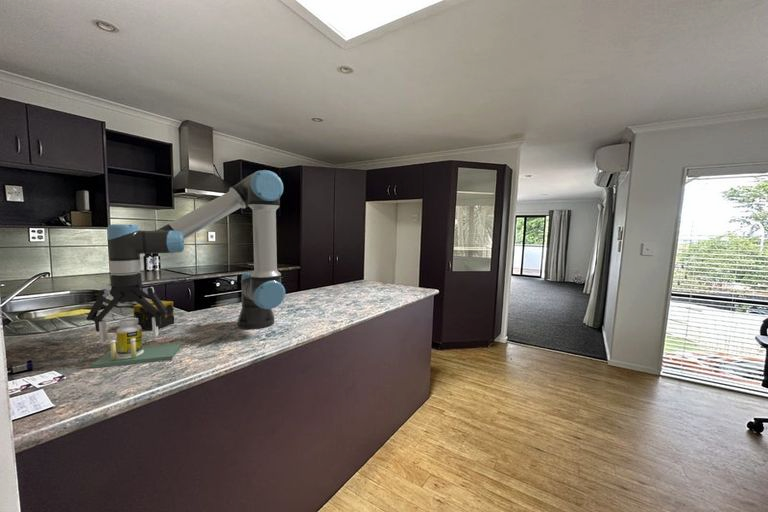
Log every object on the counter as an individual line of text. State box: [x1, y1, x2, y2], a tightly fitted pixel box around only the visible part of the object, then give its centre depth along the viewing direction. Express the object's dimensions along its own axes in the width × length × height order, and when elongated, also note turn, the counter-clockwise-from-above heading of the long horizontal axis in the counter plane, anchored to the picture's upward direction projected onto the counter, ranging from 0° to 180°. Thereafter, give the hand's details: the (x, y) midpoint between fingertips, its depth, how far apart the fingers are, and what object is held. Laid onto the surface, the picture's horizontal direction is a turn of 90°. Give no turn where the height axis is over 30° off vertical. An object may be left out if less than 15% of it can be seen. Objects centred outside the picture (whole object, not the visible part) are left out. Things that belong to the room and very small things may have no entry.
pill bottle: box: [116, 317, 143, 356], centre depth 99 cm, size 6×6×11 cm
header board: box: [91, 338, 183, 369], centre depth 100 cm, size 20×12×7 cm, turn 111°
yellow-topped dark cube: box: [132, 300, 175, 331], centre depth 129 cm, size 10×10×10 cm
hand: (130, 338), depth 99 cm, fingers open, 13 cm apart
